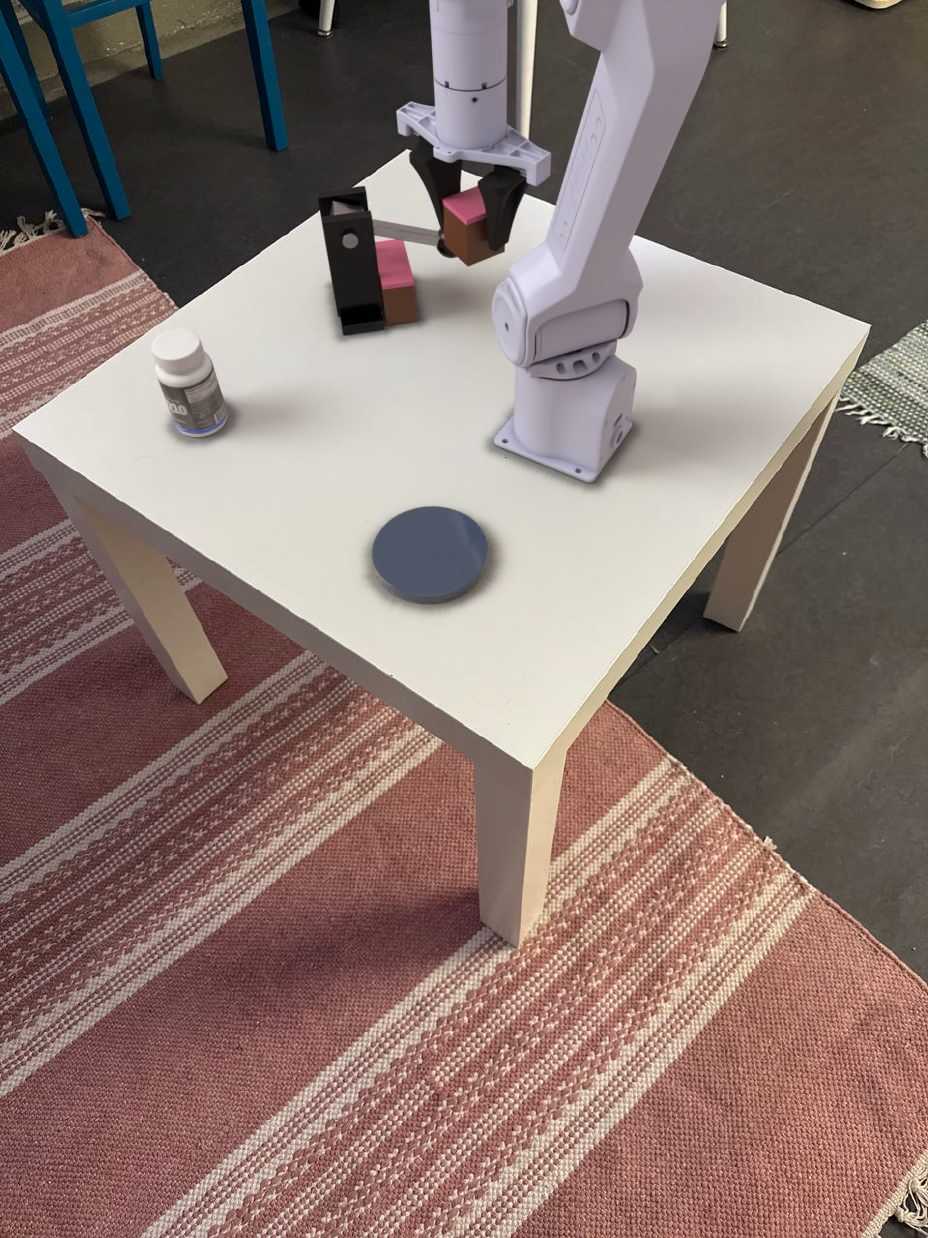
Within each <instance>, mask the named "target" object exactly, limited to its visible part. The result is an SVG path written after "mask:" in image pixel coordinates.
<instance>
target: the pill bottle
mask: <svg viewBox="0 0 928 1238" xmlns="http://www.w3.org/2000/svg"><path fill="white" fill-rule="evenodd" d="M150 348H151V352H152V355H153V356H152V357H153V360H154V362H155V368H154V369H155V370H154V371H155V376H156V379H157V381H158V384H159V386H160V389H161V391H162V394H163V397H164V399H165V402H166V404H167V408H168V410H169V412H170V415H171V418H172V420H173V423H174V426H175V427H176V429H177V430H178V431H179V432H180V433H181V434H182V435H184V436H187V437H191V438H202V437H203V438H204V437H207V436H210V435H213V434H215V433H216V432H218V431H220V430H221V429H222V428H223V427H224V426H225V424H226V423H227V421H228V417H229V412H228V409H227V405H226V401H225V398H224V396H223V393H222V390H221V386H220V383H219V379H218V377H217V376H218V375H217V374H216V369H215V367H214V364H213V360H212V358H211V357H210V355H209V354H208V352H206V351H205V350H204V347H203V343H202V340H201V338H200V336H199V335H198V334H197V333H196V332H195V331H193V330H191V329H187V328H173V329H169V330H166V331H163V332H162V333H160V334H158V335H157V336H156V337H154V339H153V341H152V342H151V347H150Z"/></svg>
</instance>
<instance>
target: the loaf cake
mask: <svg viewBox="0 0 928 1238" xmlns="http://www.w3.org/2000/svg"><path fill="white" fill-rule="evenodd" d="M375 245H376V253H377V262H378V270H379V278H380V287H381V295H382V304H383V315H384V318H385V325H386V326H387V327H388V326H396V325H402V324H409V323H416V322H418V311H417V300H416V289H415V288H416V287H415V280H414V279H415V278H414V274H413V272H412V267H411V264H410V260H409V257H408V252H407V249H406V244H405V241H403V240H397V239H386V240H380V241H375Z"/></svg>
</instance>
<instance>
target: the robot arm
mask: <svg viewBox="0 0 928 1238" xmlns="http://www.w3.org/2000/svg"><path fill="white" fill-rule="evenodd" d="M727 1H728V0H559V4H560V6H561V8H562V10H563V14H564V18H565V20H566V25H567V27H568V32H569V34H570V36H571V37H573V38H574V39H576V40H579V41H580V42H582V43H584V44H586V45H587V46H590V47H591V48H594V49H595V50H597V51H599V52H600V55H599V59H598V62H597V66H596V69H595V72H594V76H593V78H592V82H591V86H590V89H589V92H588V95H587V99H586V102H585V106H584V109H583V111H582V115H581V119H580V123H579V126H578V129H577V132H576V135H575V139H574V143H573V146H572V149H571V152H570V156H569V160H568V163H567V166H566V169H565V173H564V176H563V180H562V183H561V186H560V190H559V193H558V196H557V200H556V203H555V206H554V210H553V214H552V217H551V220H550V223H549V227H548V230H547V234H546V237H545V240H544V241H543V242H542V243H541V244H539V245H537V246H536V247H535V248H533V249H532V250H530V251H529V252H528V253H526V254H525V255H524V256H522V257H521V258H520V259H518V260H517V261H516V262H515V263H513V264H511V265H510V266H509V267H508V270H507V273H506V277H505V279H504V280H503V281H502V282H500V283H498V285H497V286H496V289H495V292H494V294H493V296H492V300H491V317H492V318H491V319H492V324H493V329H494V333H495V337H496V339H497V342H498V345H499V347H500V349H501V351H502V353H503V355H504V356H505V358H506V359H507V360H508V361H509V362H510V363H511V364H512V365H514V401H513V403H514V406H513V407H514V408H513V414H512V416H511V417H510V418H509V420H508V421H507V422H506V423H505V424H504V425H503V427H502V428H501V429H500V431H498V433H497V435H496V436H495V437H494V438H493V441H494V443H493V444H494V445H496V446H497V447H499V448H502V449H505V450H507V451H509V452H511V453H514V454H517V455H520V456H521V457H524V458H526V459H529V460H531V461H534V462H536V463H538V464H541V465H544V466H546V467H548V468H551V469H553V470H556V471H558V472H561V473H563V474H566V475H568V476H571V477H574V478H576V479H578V480H580V481H583V482H586V483H593V482H594V481H596V479H597V477H598V476H599V475H600V473H601V472H602V471H603V469H604V468H605V466H606V465H607V463H608V462H609V461H610V459H611V458H612V457H613V455H614V453H615V452H616V451H617V450H618V448H619V446H620V445H621V443H623V441H624V439H625V438H626V436H627V435H628V434H629V432H630V431H631V429H632V427H633V422H632V421H631V415H632V411H633V410H632V409H633V404H634V397H635V393H636V392H635V391H636V385H637V378H638V377H637V376H638V372H637V369H636V367H634V366H633V365H631V364H630V363H627V362H625V361H624V360H622V359H621V358H620V357H618V355H616V353H617V348H618V347H617V346H618V340H622V339H626V338H627V337H629V336H630V335H631V334H632V331H633V329H634V328H635V324H636V321H637V318H638V312H639V296H640V294H641V292H642V290H643V289H644V283H643V279H642V276H641V272H640V268H639V266H638V263H637V262H636V258H635V256H634V255H633V253H632V251H631V249H630V245H631V243H632V241H633V238H634V236H635V234H636V232H637V230H638V227H639V224H640V222H641V220H642V217H643V215H644V213H645V211H646V208H647V206H648V204H649V201H650V199H651V196H652V195H653V192H654V190H655V187H656V185H657V183H658V181H659V179H660V176H661V174H662V172H663V169H664V167H665V165H666V162H667V160H668V157H669V155H670V153H671V152H672V151H671V150H672V148H673V146H674V144H675V142H676V140H677V137H678V134H679V132H680V130H681V128H682V125H683V124H684V122H685V119H686V117H687V114H688V112H689V110H690V107H691V105H692V103H693V100H694V98H695V96H696V93H697V91H698V88H699V86H700V84H701V82H702V80H703V77H704V75H705V72H706V69H707V66H708V63H709V61H710V57H711V53H712V49H713V45H714V41H715V37H716V32H717V28H718V25H719V24H718V23H719V20H720V15H721V12H722V7H723V6H724V5H725V4H726V2H727ZM513 4H514V0H429V14H430V15H429V18H430V35H431V53H432V55H431V56H432V71H433V72H432V73H433V74H432V75H433V89H434V90H433V91H434V94H433V95H434V106H432V105H426V104H421V103H418V102H414V101H409V102H408V103H406V104H404V105H403V106H402V107H400V108H398V109H397V110H396V121H397V132H398V134H399V135H401V136H404V137H410V136H412V135H415V136H417V138H418V140H417V141H418V142H417V143H416V147H414V148H413V149H412V150H411V151H410V152H408V159H409V164H410V165H411V166H412V168H413V169H414V170H415V172H416V173H417V175H418V176H419V178H420V180H421V182H422V184H423V186H424V188H425V189H426V191H427V194H428V197H429V198H430V201H431V204H432V207H433V210H434V213H435V216H436V219H437V222H438V225H439V229H440V228H441V229H443V230H444V220H443V203H442V199H444V198H446V197H449V196H452V195H454V194H457V193H460V192H462V172H463V165H464V164H463V163H464V161H468V162H469V161H470V162H477V163H484V164H490V165H493V171H492V170H491V171H489V172H488V173H487V174H486V175H484V176H483V177H482V178H480V179H479V180H478V181H477V186H478V188H479V190H480V193H481V195H482V198H483V202H484V206H485V211H486V217H487V239H488V245H489V249H490V250H493V251H498V250H499V249H500V248H501V247H503V246H504V245H505V246H506V244H508V243H509V242H510V237H511V234H512V229H513V227H514V226H513V225H514V223H515V222H514V221H515V218H516V216H517V212H518V210H519V207H520V205H521V201H522V200H523V198H524V196H525V193H526V192H527V190H528V188H529V186H530V185H531V186H534V187H538V186H539V185H540V184H542V183H543V182H545V181H546V180H547V179H548V178H549V177H550V176H551V170H552V169H551V167H552V166H551V165H552V152H551V151H549V150H547V149H546V150H545V149H543V148H542V147H539V146H537V145H536V144H535V143H533V141H530V140H529V139H528V138H527V137H525V136H524V135H522V134H521V133H520V132H519V131H517V130H516V129H515V128H513V127H512V126H511V125H509V124H508V123H507V121H508V120H507V119H508V117H507V116H508V115H507V114H508V113H507V112H508V110H507V109H508V108H507V107H508V8H510V7H511V6H513Z"/></svg>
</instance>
